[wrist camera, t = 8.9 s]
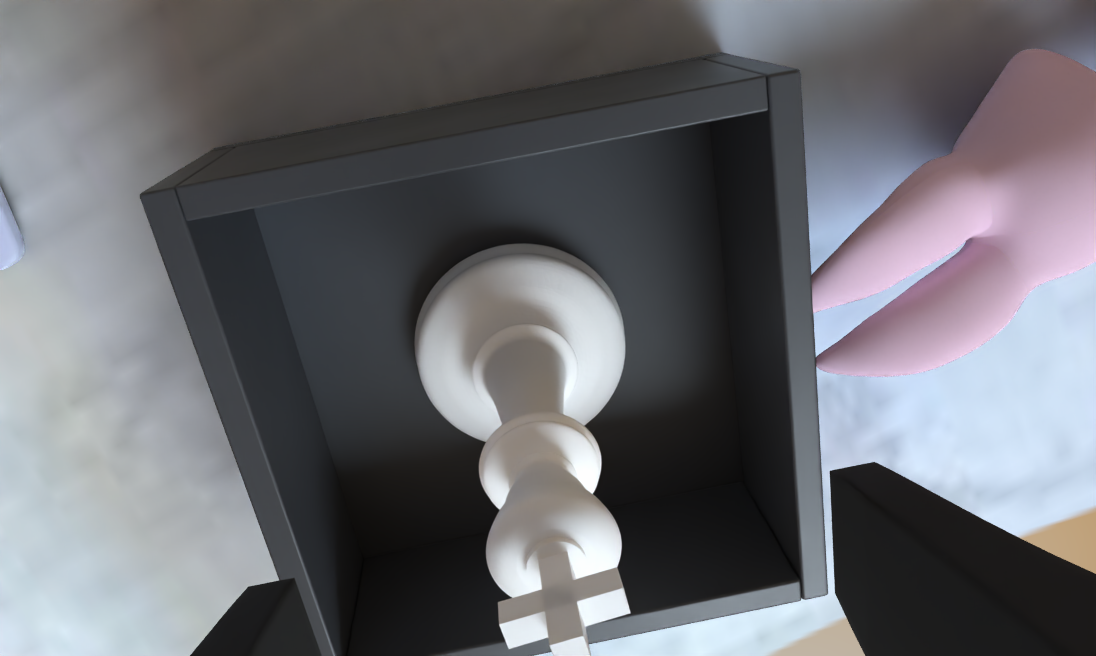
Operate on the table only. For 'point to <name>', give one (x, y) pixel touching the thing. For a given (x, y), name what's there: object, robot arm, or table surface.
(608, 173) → the bin
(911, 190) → the rabbit figure
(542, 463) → the chess piece
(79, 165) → the table surface
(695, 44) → the table surface
